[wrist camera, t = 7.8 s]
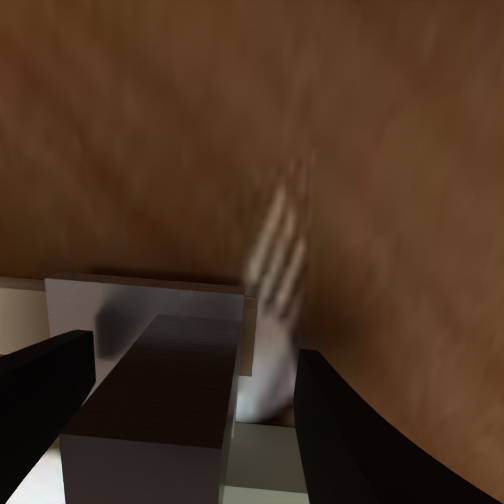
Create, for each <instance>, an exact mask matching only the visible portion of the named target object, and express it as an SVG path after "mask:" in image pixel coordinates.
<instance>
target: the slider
mask: <svg viewBox="0 0 504 504" xmlns="http://www.w3.org/2000/svg"><path fill="white" fill-rule="evenodd" d="M45 288H46V298H47V309H48V319H49V329H50V338H51V337H54V336H57V335H60V334H63V333H65V332H69V331H72V330H76V329H77V330H89V331H93V335H94V352H95V369H96V383H95V385H94V387H93V388H92V390H91V392H90V393H89V395H88V397H87V398H86V400H85V401H84V403H83V405H82V406H81V408H80V409H79V410H78V411H77V412H76V414H75V415H74V416H73V417H72V419H71V420H70V421H69V422H68V423H67V425H66V426H65V427H64V428H63V429H62V431H61V432H60V433H59V441H60V451H61V462H62V472H63V482H64V492H65V502H66V504H223V497H224V490H225V482H226V474H227V466H228V458H229V450H230V442H231V438H234V430H235V421H236V407H237V393H238V379H239V365H240V351H241V338H242V324H243V310H244V296H245V287H240V286H228V285H216V284H204V283H192V282H180V281H168V280H156V279H144V278H131V277H119V276H107V275H95V274H83V273H71V272H58V273H56V274H54V275H51V276H49V277H46V278H45Z"/></svg>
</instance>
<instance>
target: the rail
mask: <svg viewBox="0 0 504 504" xmlns="http://www.w3.org/2000/svg"><path fill="white" fill-rule="evenodd" d="M257 301H258V298H254V297H244V310H243V324H242V338H241V351H240V365H239V375H240V376H252V364H253V352H254V340H255V328H256V316H257ZM49 338H50V329H49V319H48V309H47V298H46V288H45V280H39V279H27V278H15V277H3V276H0V354H5V355H7V354H10V353H12V352H15V351H17V350H20V349H23V348H25V347H28V346H30V345H33V344H36V343H38V342H41V341H43V340H46V339H49Z"/></svg>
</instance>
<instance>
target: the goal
mask: <svg viewBox="0 0 504 504" xmlns="http://www.w3.org/2000/svg"><path fill="white" fill-rule="evenodd" d="M223 504H309V499H308V493H307V488H306V483H305V478H304V473H303V467H302V462H301V457H300V452H299V446H298V441H297V435H296V429H295V428H291V427H280V426H269V425H259V424H248V423H237V422H235V430H234V438H231V442H230V450H229V458H228V466H227V474H226V482H225V490H224V497H223Z"/></svg>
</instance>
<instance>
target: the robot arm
mask: <svg viewBox="0 0 504 504" xmlns="http://www.w3.org/2000/svg"><path fill="white" fill-rule="evenodd" d="M95 383H96V369H95V352H94V335H93V331H89V330H77V329H76V330H72V331H69V332H65V333H63V334H60V335H57V336H54V337H51V338H49V339H46V340H43V341H41V342H38V343H36V344H33V345H30V346H28V347H25V348H23V349H20V350H17V351H15V352H12V353H10V354H7V355H4V356H2V357H0V504H6V502H7V501H8V499H9V498H10V497H11V495H12V494H13V493H14V491H15V490H16V489H17V487H18V486H19V485H20V483H21V482H22V481H23V479H24V478H25V477H26V476H27V475H28V473H29V472H30V471H31V470H32V468H33V467H34V466H35V465H36V463H37V462H38V461H39V460H40V458H41V457H42V456H43V455H44V453H45V452H46V451H47V450H48V448H49V447H50V446H51V445H52V444H53V442H54V441H55V440H56V439H57V437H58V436H59V433H60V432H61V431H62V429H63V428H64V427H65V426H66V425H67V423H68V422H69V421H70V420H71V419H72V417H73V416H74V415H75V414H76V412H77V411H78V410H79V409H80V408H81V406H82V405H83V403H84V401H85V400H86V398H87V397H88V395H89V393H90V392H91V390H92V388H93V387H94V385H95ZM293 404H294V417H295V429H296V435H297V441H298V446H299V452H300V457H301V462H302V467H303V473H304V478H305V483H306V488H307V493H308V499H309V504H502V503H501V502H499V501H497V500H496V499H494V498H493V497H491V496H489V495H488V494H486V493H485V492H483V491H481V490H480V489H478V488H477V487H475V486H474V485H472V484H471V483H469V482H468V481H466V480H465V479H463V478H462V477H460V476H459V475H457V474H456V473H454V472H453V471H451V470H450V469H449V468H447V467H446V466H444V465H443V464H442V463H440V462H439V461H437V460H436V459H435V458H433V457H432V456H430V455H429V454H428V453H426V452H425V451H424V450H422V449H421V448H420V447H418V446H417V445H416V444H414V443H413V442H412V441H410V440H409V439H408V438H407V437H406V436H404V435H403V434H402V433H401V432H399V431H398V430H397V429H396V428H395V427H393V426H392V425H391V424H390V423H388V422H387V421H386V420H385V419H384V418H383V417H382V416H380V415H379V414H378V413H377V412H376V411H375V410H374V409H373V408H372V407H371V406H370V405H369V404H368V403H366V402H365V401H364V400H363V399H362V398H361V397H360V396H359V395H358V394H357V393H356V392H355V391H354V390H353V389H352V388H351V387H350V386H349V385H348V384H347V382H346V381H345V380H344V379H343V378H342V377H341V376H340V375H339V374H338V373H337V372H336V371H335V369H334V368H333V367H332V366H331V365H330V364H329V363H328V362H327V360H326V359H325V358H324V357H323V356H322V355H321V354H320V353H319V352H318V351H317V350H307V349H300V350H299V358H298V366H297V374H296V382H295V390H294V398H293Z"/></svg>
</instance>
